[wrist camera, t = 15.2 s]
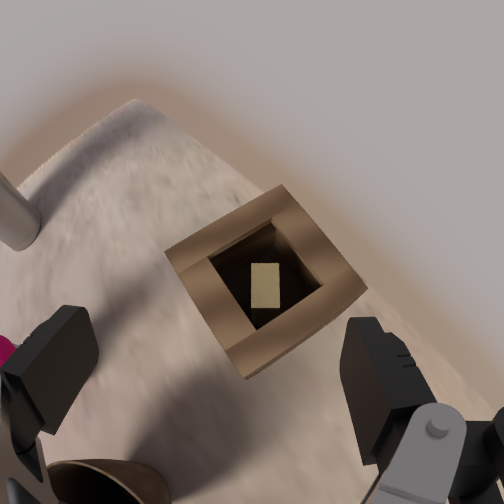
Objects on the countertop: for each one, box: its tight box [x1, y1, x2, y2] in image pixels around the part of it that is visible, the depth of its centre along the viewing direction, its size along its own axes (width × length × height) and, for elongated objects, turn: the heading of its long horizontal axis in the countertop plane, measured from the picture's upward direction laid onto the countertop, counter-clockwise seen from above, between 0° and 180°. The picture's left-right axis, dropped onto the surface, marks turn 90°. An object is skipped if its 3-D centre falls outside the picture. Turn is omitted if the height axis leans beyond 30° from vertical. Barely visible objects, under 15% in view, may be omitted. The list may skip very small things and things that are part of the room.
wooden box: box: [164, 184, 368, 379], centre depth 37 cm, size 15×15×13 cm
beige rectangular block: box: [251, 263, 280, 325], centre depth 38 cm, size 5×3×10 cm, turn 0°
